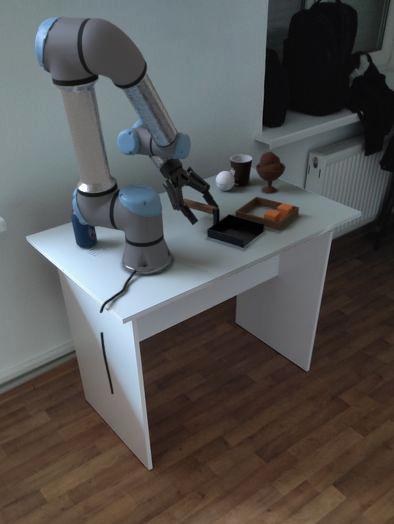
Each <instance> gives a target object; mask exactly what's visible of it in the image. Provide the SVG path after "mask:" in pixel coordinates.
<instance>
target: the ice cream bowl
mask: <svg viewBox="0 0 394 524" xmlns="http://www.w3.org/2000/svg"><path fill="white" fill-rule="evenodd" d="M255 170H256V173H257V174H258V176H259V177H260V178H261V179H262V180H263V181H266V186H264V187H263V188H262V189H261V191H262V193H265V194H274V193H276V192H277V188H276V187H275V186H273V181H277V180H278V179H280V177H281V176H282V175H283V174H284V172H285V171H286V165H285V164H284V163H283V162H281V159H280V157H279V156H278V155H277V154H275V153H274V152H273V151H265V152H263V154H261V156H260V159H259V162H258V163H257V164H256V165H255Z"/></svg>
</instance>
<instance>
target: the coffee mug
mask: <svg viewBox="0 0 394 524" xmlns="http://www.w3.org/2000/svg"><path fill="white" fill-rule="evenodd" d="M229 160H230V171H231V172H230V173H232V174H233V176H234V180H235V182H234V185H233V187H238V188H243V187H247V186H248V185H249V184H250V177H251V172H252V171H251V170H252V163H253V157H252V156H251V155H249V154H243V153H242V154H241V153H240V154H239V153H238V154H233V155H232V156H230V157H229Z"/></svg>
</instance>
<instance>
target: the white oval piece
mask: <svg viewBox="0 0 394 524" xmlns="http://www.w3.org/2000/svg"><path fill="white" fill-rule="evenodd" d="M234 182H235V180H234V176H233V174H232V172H230V171H228V170H223V171H220V172H219V173H218V174H217V175H216V178H215V184H216V187H217V188H218V189H219V190H220V191H224V192H227V191H229V190H231V189H232V188H233V187H234Z"/></svg>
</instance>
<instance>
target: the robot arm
mask: <svg viewBox="0 0 394 524" xmlns="http://www.w3.org/2000/svg"><path fill="white" fill-rule="evenodd" d="M34 53H35V57H36V60H37V63H38V64H39V66H40V67H41V68H42V70H43V71H45V72H46V73H50V76H51V80H52V85H53V86H55V88H57V89H58V90H59V91H60V94H61V98H62V103H63V106H64V110H65V111H64V112H65V115H66V121H67V124H68V129H69V133H70V139H71V142H72V148H73V152H74V155H75V160H76V165H77V169H78V173H79V178H80V179H79V180H78V181H77V183H76V187H75V189H74V191H73V194H72V197H73V199H72V200H71V201H72V203H71V204H72V208H73V209H74V212H75V214H76V216H77V217H78V219H79V220H80V221H82V222H83V223H85V224H89V225H92V226H95V228H96V227H97V228H105V229H111V230H116V231H122V232H124V239H125V244H124V250H123V254H122V257H121V261H122V266H123V268H124V270H125V271H127V272H128V273H131V274H130V275H129V277H127V279H126V280H125V282H124V285H123V287H122V289H121V290H119V291H118V292H117V293H115V294H113V295H112V296H110V298H108V299H106V300H105V301H103V303H102V304H101V307H100V310H99V314H102V313H103V312H104V309H105V307H106V305H108V304H109V303H110V302H112V301H113V300H115V299H116V298H118V297H119V296H121V295H122V294H123V293H124V292H125V291H126V289H127V287H128V284H129V283H130V281H131V280H132V278H133V277H134V276H135V275H138V276H152V275H156V274H159V273H162V272H164V271H165V270H167V269H168V268H170V266H171V264H172V261H173V259H172V258H173V257H172V251H171V249H170V248H169V246H168V244H167V242H166V239H165V234H164V221H163V206H162V202H161V196H160V193H159V192H158V191H157V190H156V189H155V188H154V187H151V186H150V185H146V184H140V183H136V184H126V185H124V186H122V187H121V188H120V189H119V186H118V181H117V178H116V177H115V176H114V175H113V174H111V171H110V166H109V160H108V154H107V148H106V144H105V137H104V133H103V127H102V121H101V116H100V115H101V114H100V109H99V105H98V98H97V94H96V87H95V86H96V84H97V82H98V81H99V79H100V77H99V76H102V77H104V78H105V77H106V78H107V79H109V80H111V82H112V84H113V85H114V86H115V87H116V88H118V89H121V90H122V92H123V93H124V95H125V97H126V98H127V100H128V102H129V103H130V105H131V106H132V108H133V110H134V111H135V113H136V114H137V116H138V118H139V119H138V120H137V121H135V123H134V124H133V125H132V127H128V128H126V129H123V130H121V131H120V132H119V134H118V135H117V140H116V142H117V143H116V144H117V148H118V149H119V151H120V152H121V154H123V155H124V156H135V155H139V156H148V157H149V159H150V160H151V161H152V163H153V164H154V166H155V167H156V168H157V169H158V171H159V173H160V174H161V175H162V177H163V178H164V179H165V181H164V182H163V183H162V186H163V188H164V189H165V190H166V193H167V197H168V199H169V201H170V204H171V207H172V210H174V211H177V212H181V214H182V215H183V216H184V217H185V218H187V220H188V222H189V223H190V224H191V225H192V226H194V225H196V224H197V223H198V222H199V220H198V218H197V216H196V215H195V214H194V212H193V211H192V209H191V208H189V207H188V206H187V204H186V205H185V206H184V200H183V199H184V196H183V187H190V188H191V189H193V190H195V191H196V192H198V193H200V194H202V198H203V199H204V201H205V202H206V204H207V205H211V206H215V207H217V208H220V205H218V203H217V202H216V200H215V199H214V196H213V195H212V194H211V192H210V190H211V185H210V183H208V182H207V181H206V180H205V179H204V178H202V177H201V175H199V174H197V172H195V171H194V169H193V168H192V167H191V166H188V167H187V168H186V169H185V168H183V163H182V161H181V160H185V159H187V158H188V157H189V155H190V152H191V145H192V143H191V137H190V136H189V134H187V133H185V132H178V130H177V128H176V126H175V124H174V122H173V120H172V119H171V117H170V115H169V112H168V110H167V109H166V107H165V105H164V103H163V101H162V99H161V96H160V95H159V93H158V91H157V89H156V88H155V86H154V83H153V82H152V80H151V78H150V76H149V74H148V64H147V61H146V59H145V57H144V55H143V54H142V52H141V49H139V47H138V46H137V44H136V43H135V42H134V41H133V40H132V39H131V38H130V36H129V35H128V34H126V33H125V31H123V30H122V29H121V28H120V27H118V26H117V24H114V23H112V22H111V21H109V20H106V19H104V18H99V17H98V18H97V17H92V18H91V17H67V16H58V17H49V18H46V19H45V20H43V21H42V22H41V24H40V25H39V27H38V28H37V33H36V35H35V41H34ZM73 209H72V210H73ZM99 335H100V343H101V351H102V357H103V361H104V365H105V366H104V367H105V370H106V374H107V379H108V383H109V390H110V394H111V395H114V393H115V392H114V387H113V382H112V378H111V377H112V376H111V372H110V367H109V363H108V358H107V353H106V346H105V338H104V337H105V336H104V332H103V331H101V332H100V334H99Z"/></svg>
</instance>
